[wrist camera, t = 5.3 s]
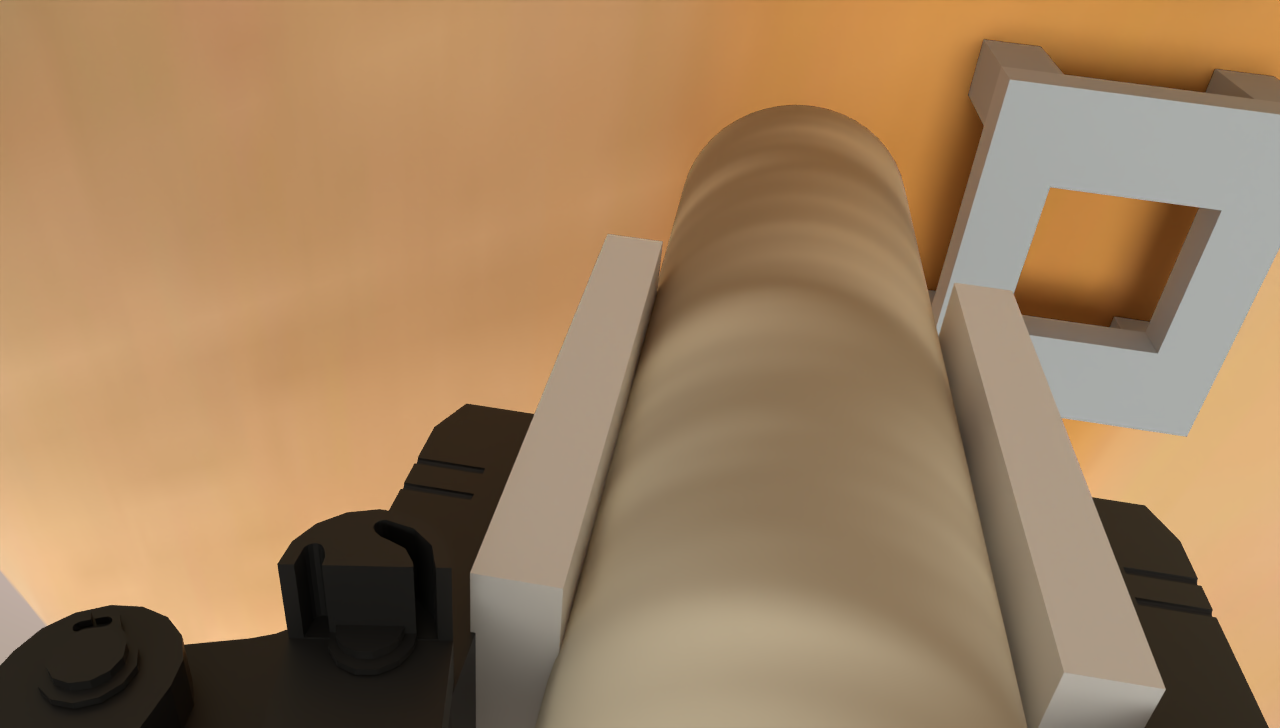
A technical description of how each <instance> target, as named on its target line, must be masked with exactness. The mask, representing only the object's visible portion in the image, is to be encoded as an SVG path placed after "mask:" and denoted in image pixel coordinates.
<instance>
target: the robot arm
mask: <svg viewBox="0 0 1280 728" xmlns="http://www.w3.org/2000/svg"><path fill="white" fill-rule="evenodd" d="M662 243H663V242H662V241H655V240H648V239H641V238H634V237H626V236H619V235H612V234H607V237H606V239H605V241H604V244H603V246H602V249H601V251H600V254H599V256H598V259H597V261H596V264H595V266H594V269H593V271H592V274H591V276H590V278H589V281H588V283H587V286H586V288H585V291H584V293H583V296H582V298H581V301H580V303H579V306H578V308H577V311H576V313H575V315H574V318H573V320H572V323H571V325H570V328H569V330H568V333H567V335H566V338H565V340H564V343H563V345H562V347H561V350H560V352H559V355H558V357H557V360H556V362H555V365H554V367H553V370H552V372H551V375H550V377H549V380H548V382H547V384H546V387H545V389H544V392H543V394H542V397H541V399H540V402H539V404H538V407H537V409H536V412H535V414H530V413H523V412H517V411H511V410H504V409H498V408H491V407H485V406H478V405H472V404H465V405H464V406H463V407H461V408H460V409H459V410H457V411H456V412H454V413H453V414H452V415H450V416H449V417H448V418H446V419H445V420H444V421H442V422H441V423H440V424H438V425H437V426H435V427H434V429H433V431H432V433H431V435H430V436H429V438H428V440H427V442H426V444H425V446H424V447H423V449H422V451H421V453H420V455H419V457H418V462H417V464H414V466H413V468H412V469H411V471H410V473H409V475H408V477H407V479H406V480H405V482H404V488H403V489H401V490H400V491H399V493H398V495H397V497H396V499H395V501H394V502H393V504H392V506H391V508H390V510H389V511H386V510H380V509H378V510H367V511H357V512H347V513H344V514H342V515H339V516H336V517H333V518H331V519H328V520H325V521H322V522H320V523H317V524H315V525H314V526H313V527H311V528H310V529H309V530H307V531H306V532H304V533H303V534H302V535H300V536H299V537H298V538H296V539H295V540H293V541H292V542H291V544H290V545H289V547H288V549H287V550H286V552H285V553H284V555H283V556H282V558H281V559H280V561H279V563H278V571H279V577H280V584H281V591H282V597H283V604H284V610H285V617H286V624H287V630H285V631H282V632H279V633H277V634H272V635H267V636H261V637H256V638H250V639H240V640H229V641H219V642H208V643H198V644H188V645H184V642H183V638H182V635H181V634H180V632H179V631H178V630H177V629H176V627H175V626H174V625H173V623H172V622H171V621H170V620H169V618H168V617H166V616H163V615H161V614H159V613H156V612H154V611H152V610H149V609H147V608H145V607H137V606H117V605H110V606H105V607H100V608H95V609H91V610H86V611H81V612H77V613H74V614H72V615H70V616H68V617H66V618H63V619H61V620H59V621H57V622H55V623H53V624H51V625H48V626H46V627H45V628H42V629H41V630H40V631H38V632H37V633H36V634H35V635H33V636H32V637H31V638H30V639H28V640H27V641H26V642H25V643H23V644H22V645H21V646H20V647H18V648H17V649H16V650H15V651H13V653H12V654H11V655H10V656H9V657H8V658H7V659H6V660H5V661H4V662H3V663H2V664H1V665H0V728H535V725H536V721H537V718H538V714H539V711H540V707H541V703H542V700H543V696H544V692H545V689H546V685H547V682H548V678H549V676H550V673H551V670H552V667H553V665H554V662H555V660H556V658H557V656H558V655H559V652H560V648H561V645H562V641H563V637H564V634H565V630H566V626H567V623H568V619H569V615H570V612H571V608H572V604H573V600H574V597H575V593H576V589H577V586H578V582H579V578H580V575H581V571H582V567H583V564H584V560H585V556H586V552H587V549H588V545H589V541H590V538H591V534H592V530H593V527H594V523H595V519H596V516H597V512H598V508H599V504H600V501H601V497H602V493H603V490H604V486H605V482H606V479H607V475H608V471H609V468H610V464H611V460H612V457H613V453H614V449H615V445H616V442H617V438H618V434H619V431H620V427H621V423H622V420H623V416H624V412H625V409H626V405H627V401H628V397H629V394H630V390H631V386H632V383H633V379H634V375H635V372H636V368H637V364H638V361H639V357H640V353H641V349H642V346H643V342H644V338H645V335H646V331H647V327H648V324H649V320H650V316H651V313H652V309H653V305H654V301H655V298H656V294H657V289H658V280H659V271H660V262H661V253H662ZM939 342H940V346H941V350H942V355H943V359H944V364H945V368H946V372H947V377H948V381H949V385H950V390H951V394H952V399H953V403H954V407H955V412H956V416H957V420H958V425H959V429H960V434H961V438H962V442H963V447H964V451H965V456H966V460H967V464H968V469H969V473H970V477H971V482H972V486H973V491H974V495H975V499H976V504H977V508H978V512H979V517H980V521H981V526H982V530H983V534H984V539H985V543H986V548H987V552H988V556H989V561H990V565H991V569H992V574H993V578H994V583H995V587H996V591H997V596H998V600H999V604H1000V609H1001V613H1002V618H1003V622H1004V626H1005V631H1006V635H1007V640H1008V644H1009V648H1010V653H1011V657H1012V661H1013V666H1014V670H1015V675H1016V679H1017V683H1018V688H1019V692H1020V696H1021V701H1022V705H1023V710H1024V714H1025V718H1026V723H1027V727H1028V728H1269V727H1268V725H1267V723H1266V721H1265V719H1264V717H1263V715H1262V713H1261V710H1260V708H1259V706H1258V704H1257V702H1256V700H1255V698H1254V696H1253V694H1252V692H1251V689H1250V687H1249V685H1248V683H1247V681H1246V679H1245V677H1244V675H1243V673H1242V671H1241V668H1240V666H1239V664H1238V662H1237V660H1236V658H1235V656H1234V654H1233V652H1232V649H1231V647H1230V645H1229V643H1228V641H1227V639H1226V637H1225V635H1224V633H1223V631H1222V628H1221V626H1220V624H1219V622H1218V620H1217V618H1215V617H1212V610H1213V609H1212V607H1211V605H1210V603H1209V601H1208V599H1207V597H1206V595H1205V593H1204V591H1203V588H1202V586H1198V585H1197V579H1198V578H1197V576H1196V574H1195V572H1194V570H1193V567H1192V565H1191V563H1190V561H1189V559H1188V557H1187V555H1186V553H1185V551H1184V548H1183V546H1182V544H1181V542H1180V541H1179V540H1178V538H1177V537H1176V536H1175V535H1174V534H1173V533H1172V532H1171V531H1170V530H1169V529H1168V528H1167V527H1166V526H1165V525H1164V524H1163V523H1162V522H1161V521H1160V520H1159V519H1158V518H1157V517H1156V516H1155V515H1154V514H1153V513H1152V512H1151V511H1150V510H1149V509H1148V508H1147V507H1146V506H1144V505H1138V504H1131V503H1125V502H1119V501H1112V500H1106V499H1099V498H1093V497H1092V496H1091V494H1090V491H1089V489H1088V486H1087V483H1086V481H1085V478H1084V476H1083V473H1082V470H1081V468H1080V465H1079V463H1078V460H1077V457H1076V455H1075V452H1074V450H1073V447H1072V445H1071V442H1070V439H1069V437H1068V434H1067V432H1066V429H1065V426H1064V424H1063V421H1062V419H1061V416H1060V413H1059V411H1058V408H1057V406H1056V403H1055V400H1054V398H1053V395H1052V393H1051V390H1050V387H1049V385H1048V382H1047V380H1046V377H1045V374H1044V372H1043V369H1042V367H1041V364H1040V361H1039V359H1038V356H1037V354H1036V351H1035V348H1034V346H1033V343H1032V341H1031V338H1030V335H1029V333H1028V330H1027V328H1026V325H1025V322H1024V320H1023V317H1022V315H1021V312H1020V309H1019V307H1018V304H1017V302H1016V299H1015V296H1014V294H1013V291H1011V290H1003V289H996V288H989V287H982V286H975V285H968V284H961V283H954V285H953V289H952V292H951V296H950V299H949V302H948V306H947V309H946V313H945V316H944V320H943V323H942V326H941V330H940V333H939Z"/></svg>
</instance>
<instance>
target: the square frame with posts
mask: <svg viewBox="0 0 1280 728" xmlns="http://www.w3.org/2000/svg"><path fill="white" fill-rule="evenodd" d="M968 95H969V97H970V99H971V101H972V103H973V105H974V107H975V109H976V111H977V113H978V115H979V117H980V119H981V121H982V123H983V125H984V128H983V131H982V135H981V138H980V141H979V145H978V148H977V152H976V155H975V159H974V162H973V166H972V169H971V172H970V176H969V179H968V183H967V186H966V190H965V193H964V196H963V200H962V203H961V207H960V210H959V214H958V217H957V221H956V224H955V227H954V231H953V234H952V238H951V241H950V245H949V248H948V251H947V255H946V258H945V262H944V265H943V269H942V272H941V276H940V279H939V282H938V286H937V289H936V291H932V290H928V293H929V298H930V302H931V307H932V311H933V315H934V320H935V324H936V328H937V333H938V337H939V333H940V330H941V326H942V323H943V320H944V316H945V313H946V309H947V306H948V302H949V299H950V296H951V292H952V289H953V285H954V283H961V284H968V285H975V286H982V287H989V288H996V289H1003V290H1011V291H1013V294H1014V292H1015V289H1016V286H1017V283H1018V280H1019V277H1020V274H1021V271H1022V268H1023V265H1024V262H1025V259H1026V256H1027V253H1028V250H1029V247H1030V245H1031V242H1032V239H1033V236H1034V233H1035V230H1036V227H1037V224H1038V221H1039V218H1040V215H1041V212H1042V209H1043V206H1044V203H1045V200H1046V197H1047V195H1048V192H1049V189H1050V187H1053V188H1060V189H1067V190H1075V191H1082V192H1089V193H1097V194H1104V195H1111V196H1119V197H1126V198H1133V199H1141V200H1148V201H1155V202H1163V203H1170V204H1177V205H1185V206H1192V207H1199V209H1198V212H1197V214H1196V216H1195V219H1194V221H1193V223H1192V225H1191V228H1190V230H1189V232H1188V235H1187V237H1186V239H1185V242H1184V244H1183V246H1182V249H1181V251H1180V253H1179V256H1178V258H1177V260H1176V262H1175V265H1174V267H1173V269H1172V272H1171V274H1170V276H1169V279H1168V281H1167V283H1166V286H1165V288H1164V290H1163V293H1162V295H1161V297H1160V299H1159V302H1158V304H1157V306H1156V309H1155V311H1154V313H1153V316H1152V318H1151V320H1150V322H1149V321H1142V320H1135V319H1128V318H1121V317H1114V318H1113V320H1112V323H1111V325H1110V327H1103V326H1097V325H1090V324H1083V323H1076V322H1069V321H1062V320H1055V319H1048V318H1041V317H1034V316H1027V315H1022V317H1023V320H1024V322H1025V325H1026V328H1027V330H1028V333H1029V335H1030V338H1031V341H1032V343H1033V346H1034V348H1035V351H1036V354H1037V356H1038V359H1039V361H1040V364H1041V367H1042V369H1043V372H1044V374H1045V377H1046V380H1047V382H1048V385H1049V387H1050V390H1051V393H1052V395H1053V398H1054V400H1055V403H1056V406H1057V408H1058V411H1059V413H1060V416H1061V418H1066V419H1072V420H1079V421H1086V422H1092V423H1099V424H1106V425H1113V426H1119V427H1126V428H1133V429H1139V430H1146V431H1153V432H1159V433H1166V434H1173V435H1179V436H1186V437H1187V435H1188V433H1189V431H1190V429H1191V427H1192V425H1193V423H1194V421H1195V419H1196V417H1197V415H1198V413H1199V411H1200V409H1201V407H1202V405H1203V403H1204V401H1205V399H1206V397H1207V395H1208V392H1209V390H1210V388H1211V386H1212V384H1213V382H1214V380H1215V378H1216V376H1217V374H1218V372H1219V370H1220V368H1221V366H1222V364H1223V362H1224V360H1225V358H1226V356H1227V354H1228V352H1229V350H1230V348H1231V346H1232V344H1233V342H1234V340H1235V338H1236V336H1237V334H1238V332H1239V329H1240V327H1241V325H1242V323H1243V321H1244V319H1245V317H1246V315H1247V313H1248V311H1249V309H1250V307H1251V305H1252V303H1253V301H1254V299H1255V297H1256V295H1257V293H1258V291H1259V289H1260V287H1261V285H1262V283H1263V281H1264V279H1265V277H1266V275H1267V273H1268V271H1269V268H1270V266H1271V264H1272V262H1273V260H1274V258H1275V256H1276V254H1277V252H1278V250H1279V248H1280V80H1278V79H1277V78H1276V77H1274V76H1267V75H1259V74H1251V73H1243V72H1235V71H1228V70H1220V69H1215V70H1214V73H1213V75H1212V78H1211V80H1210V83H1209V85H1208V87H1207V90H1206V92H1205V93H1204V92H1196V91H1188V90H1180V89H1173V88H1165V87H1157V86H1149V85H1142V84H1134V83H1126V82H1119V81H1111V80H1103V79H1095V78H1088V77H1080V76H1072V75H1064V74H1063V73H1062V71H1061V70H1060V69H1059V68H1058V67H1057V65H1056V64H1055V63H1054V62H1053V61H1052V59H1051V58H1050V57H1049V56H1048V55H1047V53H1046V52H1045V51H1044V50H1043V49H1042V47H1040V46H1032V45H1024V44H1016V43H1008V42H1000V41H993V40H985V39H984V40H983V44H982V47H981V51H980V55H979V58H978V62H977V65H976V69H975V73H974V76H973V80H972V83H971V87H970V91H969V94H968Z"/></svg>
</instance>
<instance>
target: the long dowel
mask: <svg viewBox="0 0 1280 728" xmlns="http://www.w3.org/2000/svg"><path fill="white" fill-rule="evenodd" d="M535 728H1028V727H1027V723H1026V718H1025V714H1024V710H1023V705H1022V701H1021V696H1020V692H1019V688H1018V683H1017V679H1016V675H1015V670H1014V666H1013V661H1012V657H1011V653H1010V648H1009V644H1008V640H1007V635H1006V631H1005V626H1004V622H1003V618H1002V613H1001V609H1000V604H999V600H998V596H997V591H996V587H995V583H994V578H993V574H992V569H991V565H990V561H989V556H988V552H987V548H986V543H985V539H984V534H983V530H982V526H981V521H980V517H979V512H978V508H977V504H976V499H975V495H974V491H973V486H972V482H971V477H970V473H969V469H968V464H967V460H966V456H965V451H964V447H963V442H962V438H961V434H960V429H959V425H958V420H957V416H956V412H955V407H954V403H953V399H952V394H951V390H950V385H949V381H948V377H947V372H946V368H945V364H944V359H943V355H942V350H941V346H940V342H939V337H938V333H937V328H936V324H935V320H934V315H933V311H932V307H931V302H930V298H929V293H928V289H927V285H926V280H925V276H924V272H923V267H922V263H921V258H920V254H919V250H918V245H917V241H916V236H915V232H914V228H913V223H912V219H911V215H910V210H909V206H908V201H907V197H906V193H905V188H904V185H903V181H902V177H901V174H900V172H899V169H898V167H897V165H896V162H895V161H894V159H893V158H892V156H891V154H890V153H889V151H888V150H887V148H886V147H885V146H884V145H883V144H882V142H881V141H880V140H879V139H878V138H877V137H876V136H875V135H874V134H873V133H871V132H870V131H869V130H868V129H867V128H865V127H864V126H862V125H861V124H859V123H858V122H857V121H855V120H853V119H851V118H849V117H847V116H845V115H843V114H841V113H838V112H835V111H832V110H829V109H825V108H820V107H815V106H805V105H786V106H777V107H772V108H767V109H763V110H760V111H757V112H754V113H751V114H749V115H747V116H744V117H742V118H740V119H738V120H736V121H735V122H733V123H732V124H730V125H728V126H727V127H725V128H724V129H723V130H722V131H720V132H719V133H718V134H717V135H716V136H714V137H713V138H712V139H711V140H710V142H709V143H708V144H707V145H706V146H705V147H704V148H703V149H702V151H701V152H700V154H699V155H698V157H697V158H696V160H695V161H694V163H693V165H692V167H691V169H690V171H689V173H688V176H687V179H686V182H685V185H684V188H683V192H682V196H681V199H680V203H679V206H678V210H677V214H676V217H675V221H674V225H673V228H672V232H671V235H670V239H669V243H668V246H667V250H666V254H665V257H664V261H663V264H662V268H661V272H660V275H659V280H658V289H657V294H656V298H655V301H654V305H653V309H652V313H651V316H650V320H649V324H648V327H647V331H646V335H645V338H644V342H643V346H642V349H641V353H640V357H639V361H638V364H637V368H636V372H635V375H634V379H633V383H632V386H631V390H630V394H629V397H628V401H627V405H626V409H625V412H624V416H623V420H622V423H621V427H620V431H619V434H618V438H617V442H616V445H615V449H614V453H613V457H612V460H611V464H610V468H609V471H608V475H607V479H606V482H605V486H604V490H603V493H602V497H601V501H600V504H599V508H598V512H597V516H596V519H595V523H594V527H593V530H592V534H591V538H590V541H589V545H588V549H587V552H586V556H585V560H584V564H583V567H582V571H581V575H580V578H579V582H578V586H577V589H576V593H575V597H574V600H573V604H572V608H571V612H570V615H569V619H568V623H567V626H566V630H565V634H564V637H563V641H562V645H561V648H560V652H559V655H558V656H557V658H556V660H555V662H554V665H553V667H552V670H551V673H550V676H549V678H548V682H547V685H546V689H545V692H544V696H543V700H542V703H541V707H540V711H539V714H538V718H537V721H536V725H535Z"/></svg>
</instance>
